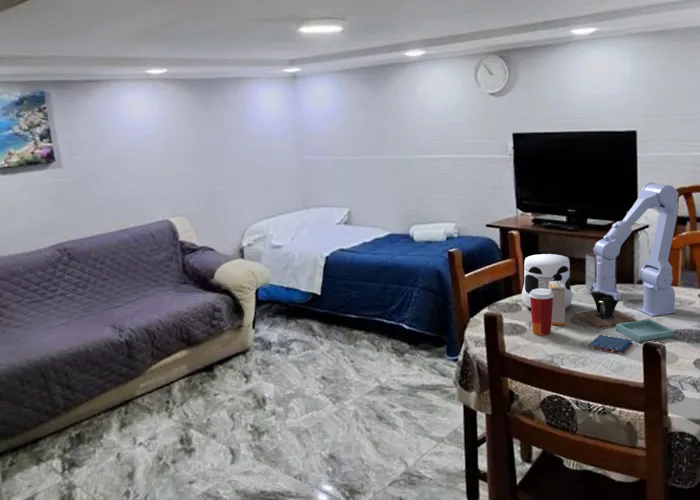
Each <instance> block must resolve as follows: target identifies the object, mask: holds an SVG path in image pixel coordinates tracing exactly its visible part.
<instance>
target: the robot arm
mask: <svg viewBox="0 0 700 500" xmlns="http://www.w3.org/2000/svg"><path fill="white" fill-rule="evenodd" d="M678 198H679V192H678V191H677V189H676V188H675V187H674V186H673V185H671V184H670V185H668V184H661V183H660V184H659V183H656V182H653V181H652V182H648V183H646V184H645V185H643V187H642V189H641V190H640V191H639V193H638V198H637V199H636V201H635V202H634V203H633V205H632V207H631V208H629V211H628V212H627V213H626V215H625V216H624V218H623V219H622V220H619V221H616V222H614V223H613V224H612V226H611V228H610V229H609V231H608V232H606V235H604V236H603V238H602V239H599V240H598V241H597V242H595V244H594V247H593V248H592V249H593V250H592V251H593V252H594V253H595V254H596V259H597V281H596V282H595V283H591V289H594V292H591V295H592V296H591V297H592V298H593V301H594V303H595V307H596V310H597V312H598V313H600V303H598V300H599V299H602V300H603V302H604V306H605V315H606V317H612V316H613V313H614V310H616V307H617V304H618V303H619V301H620V300H622V293H620V292H619V291H618V289H617V288H616V289H615V258H616V257H618V256H619V255H620V251H621V247H622V245H623V244H624V243H625V241H626V240H627V239H628V237H629V236H630V235H631V233H632V232H633V229H632V227H633V226H634V225H635V224H636V222H637V221H639V219H640V218H641V217H642V216H643V215H644V214H645V213H646V211H648V210H649V209H653V208H655V209H656V210H657V211H658V217H657V221H656V226H655V227H656V228H655V232H654V235H653V236H654V238H653V242H652V246H651V252H650V256H649V258H647V259H646V260H645V261H644V262H643V265H642V268H641V269H640V271H639V273H638V274H639V279H640V280H641V282H642V286H643V302H642V303H643V305H642V307H637V310H638V311H640V312H642V313H644V314H647V315H648V316H651V317H655V316H662V315H667V314H675V313H677V311H676V310H675V307H676V306H675V305H676V304H675V302H676V292H675V289H674V288H673V286H672V283H673V281H674V280H673V279H674V278H673V266H672V265H671V264H670V262H669V257H670V251H671V246H672V243H673V238H674V232H675V229H676V228H675V227H676V222H677V218H678V212H679V203H678Z"/></svg>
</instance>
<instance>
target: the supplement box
mask: <svg viewBox="0 0 700 500" xmlns="http://www.w3.org/2000/svg"><path fill="white" fill-rule="evenodd" d="M549 290H551V291H552V293H553V294H554V297H553V306H552V321H551V325H565V324H566V308H565V286H564V284H563V281H549Z"/></svg>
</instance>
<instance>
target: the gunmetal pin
mask: <svg viewBox="0 0 700 500" xmlns="http://www.w3.org/2000/svg"><path fill="white" fill-rule="evenodd" d="M598 303H600V317H599V318H600V319H602V320H604V319H610V317H606V315H605V306H604V302H603V300H602V299H599V300H598Z"/></svg>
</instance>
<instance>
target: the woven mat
mask: <svg viewBox="0 0 700 500" xmlns="http://www.w3.org/2000/svg"><path fill="white" fill-rule="evenodd" d="M633 341H634V340H632V339H630V338H623V337H617V336H613V335H610V336H609V335H607V334H606V335H603V334H599V335H598V336H596V338H594V339H593V340H592V341H591V342H590V343H589V344H588V345H587V347H588V350H595V351H600V352H602V351H603V352H607V353H612V354H614V355H615V354H616V355H617V354H618V355H622V354H625V353H626V350H628V349H629V348H630V347H631V346H632V345H633V344H634V342H633Z"/></svg>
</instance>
